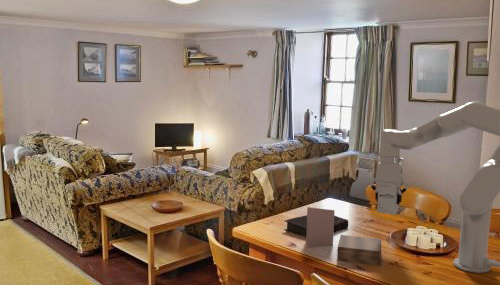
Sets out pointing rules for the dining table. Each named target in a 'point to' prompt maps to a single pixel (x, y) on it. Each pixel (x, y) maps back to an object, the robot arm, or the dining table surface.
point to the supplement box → (387, 198)
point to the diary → (300, 225)
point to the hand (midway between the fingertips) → (388, 202)
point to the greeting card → (319, 227)
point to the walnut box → (359, 250)
